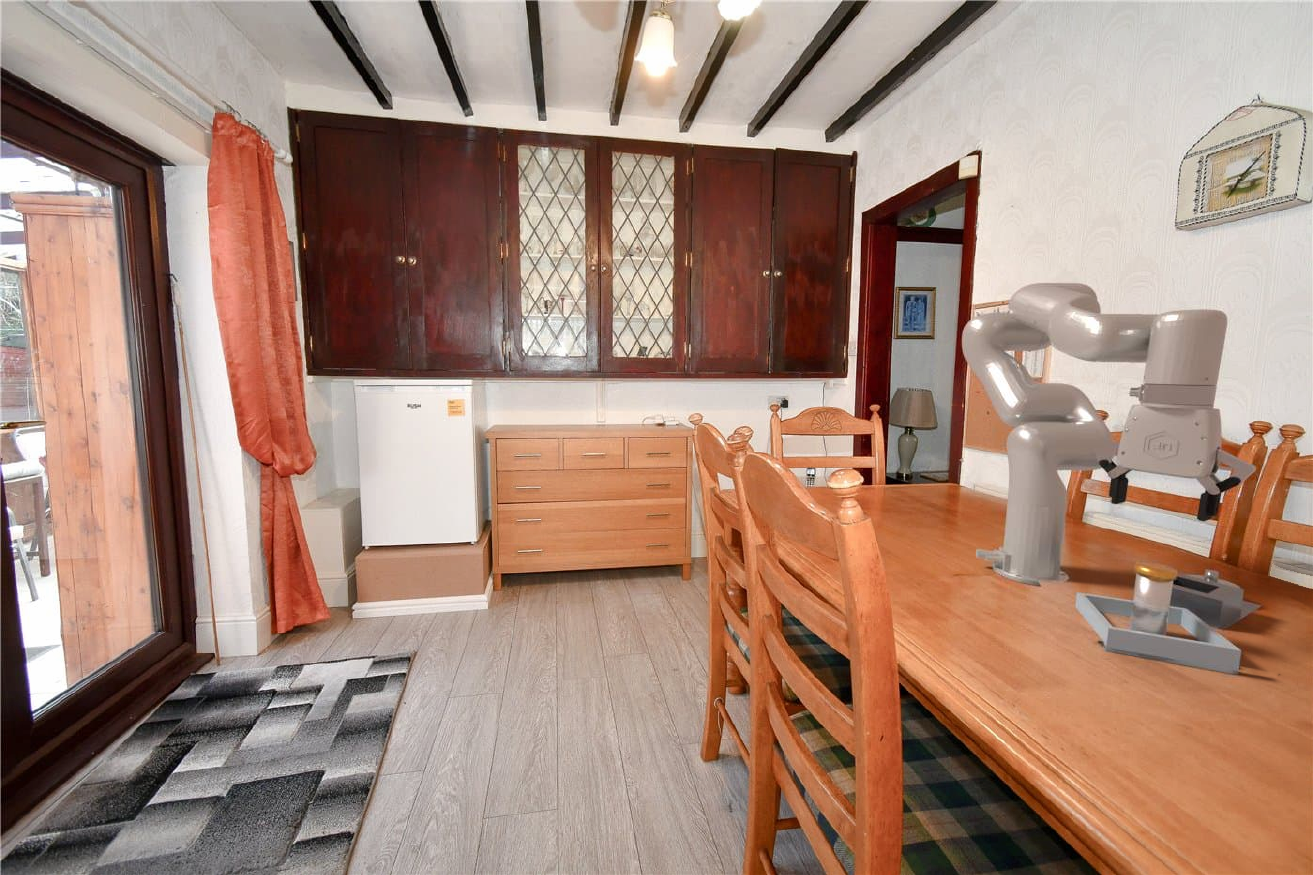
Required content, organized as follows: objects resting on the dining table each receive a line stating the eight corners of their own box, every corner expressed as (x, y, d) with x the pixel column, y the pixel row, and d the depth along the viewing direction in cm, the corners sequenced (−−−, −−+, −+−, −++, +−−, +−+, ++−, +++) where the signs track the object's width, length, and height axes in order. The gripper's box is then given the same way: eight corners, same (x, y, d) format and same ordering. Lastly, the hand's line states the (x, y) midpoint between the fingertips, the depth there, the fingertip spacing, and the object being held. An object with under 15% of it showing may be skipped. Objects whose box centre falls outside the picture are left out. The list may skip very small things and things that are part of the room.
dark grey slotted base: (1222, 636, 79) (1227, 599, 78) (1131, 607, 88) (1135, 575, 88) (1261, 611, 88) (1266, 578, 87) (1174, 587, 97) (1178, 558, 97)
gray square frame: (1105, 650, 74) (1108, 628, 74) (1074, 611, 87) (1076, 592, 86) (1237, 675, 68) (1241, 650, 68) (1183, 629, 81) (1186, 608, 81)
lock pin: (1133, 639, 76) (1142, 569, 75) (1121, 625, 81) (1129, 559, 79) (1174, 646, 75) (1184, 574, 73) (1159, 632, 79) (1168, 564, 77)
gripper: (1091, 394, 79) (1077, 500, 82) (1258, 402, 64) (1234, 531, 67) (1113, 393, 83) (1099, 494, 85) (1276, 400, 68) (1253, 523, 70)
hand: (1158, 510), depth 76 cm, fingers open, 9 cm apart
